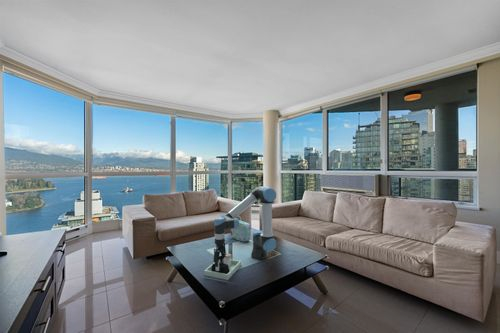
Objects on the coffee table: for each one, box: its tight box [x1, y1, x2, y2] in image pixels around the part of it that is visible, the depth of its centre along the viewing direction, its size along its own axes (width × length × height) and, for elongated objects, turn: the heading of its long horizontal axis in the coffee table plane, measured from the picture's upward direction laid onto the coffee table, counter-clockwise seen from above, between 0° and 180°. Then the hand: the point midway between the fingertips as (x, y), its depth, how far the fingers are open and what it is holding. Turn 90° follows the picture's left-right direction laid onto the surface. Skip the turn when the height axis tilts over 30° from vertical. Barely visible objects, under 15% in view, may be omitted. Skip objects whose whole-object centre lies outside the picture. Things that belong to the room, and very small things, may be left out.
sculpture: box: [211, 253, 230, 274], centre depth 161 cm, size 8×13×15 cm, turn 59°
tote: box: [203, 258, 242, 282], centre depth 166 cm, size 20×24×4 cm
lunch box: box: [230, 219, 252, 243], centre depth 238 cm, size 27×10×21 cm, turn 45°
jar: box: [224, 253, 233, 267], centre depth 173 cm, size 6×6×9 cm
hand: (220, 267), depth 161 cm, fingers open, 8 cm apart
